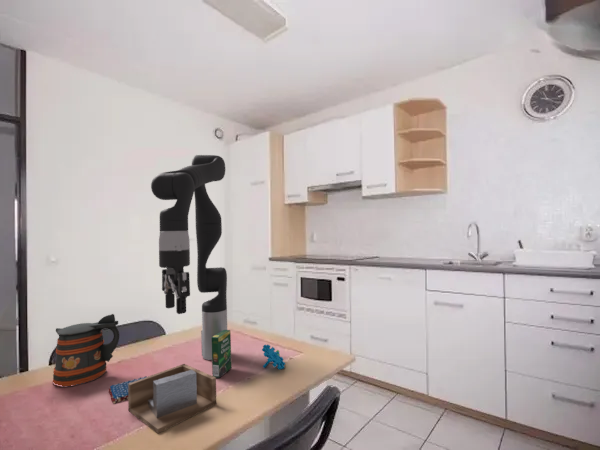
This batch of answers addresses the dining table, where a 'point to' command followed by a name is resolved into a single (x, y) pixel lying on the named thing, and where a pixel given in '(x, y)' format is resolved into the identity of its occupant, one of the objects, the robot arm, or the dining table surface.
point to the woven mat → (120, 391)
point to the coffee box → (221, 353)
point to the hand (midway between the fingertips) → (175, 310)
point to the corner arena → (139, 407)
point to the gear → (273, 357)
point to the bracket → (173, 393)
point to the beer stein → (83, 351)
